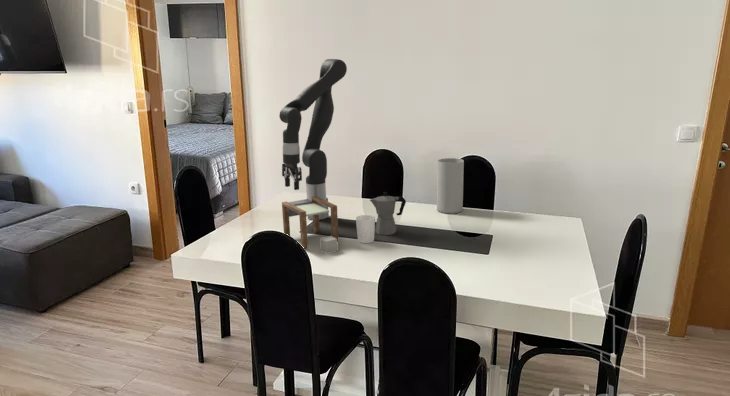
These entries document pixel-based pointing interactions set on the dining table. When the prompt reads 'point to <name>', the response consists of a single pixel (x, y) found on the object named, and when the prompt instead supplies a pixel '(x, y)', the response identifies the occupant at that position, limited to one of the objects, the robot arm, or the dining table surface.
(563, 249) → the dining table surface
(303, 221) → the frame
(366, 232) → the white cup
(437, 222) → the dining table surface
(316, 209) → the trapdoor
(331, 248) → the gray cube
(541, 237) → the dining table surface
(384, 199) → the coffeepot
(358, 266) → the dining table surface
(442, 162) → the cylinder vase
